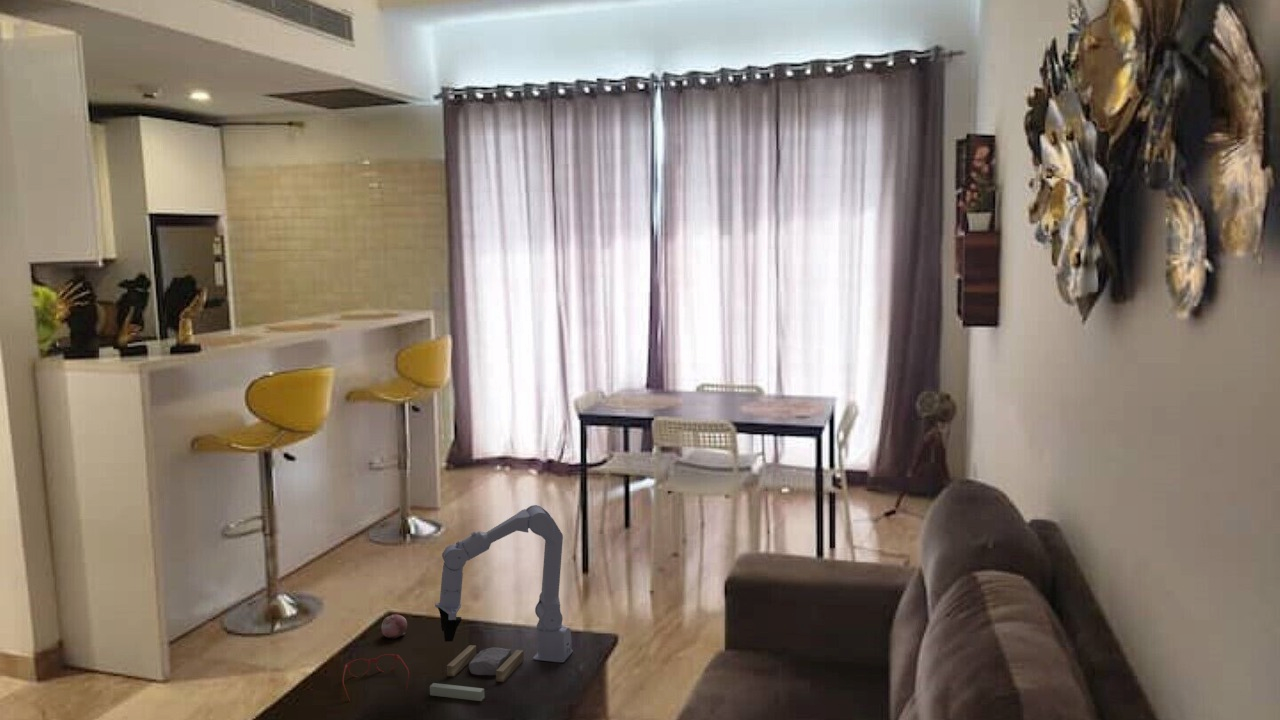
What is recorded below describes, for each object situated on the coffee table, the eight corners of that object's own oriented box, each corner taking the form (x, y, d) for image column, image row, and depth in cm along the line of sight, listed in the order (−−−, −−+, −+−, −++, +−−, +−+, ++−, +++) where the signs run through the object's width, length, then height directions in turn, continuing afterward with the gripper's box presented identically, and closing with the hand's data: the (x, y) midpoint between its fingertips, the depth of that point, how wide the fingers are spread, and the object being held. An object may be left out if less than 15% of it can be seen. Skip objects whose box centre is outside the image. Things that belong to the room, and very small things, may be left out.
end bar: (484, 697, 245) (484, 688, 245) (481, 701, 243) (480, 692, 243) (433, 691, 249) (433, 682, 249) (430, 695, 247) (429, 686, 247)
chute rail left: (476, 655, 271) (476, 645, 271) (453, 676, 258) (453, 666, 258) (470, 654, 272) (469, 645, 272) (447, 675, 259) (446, 665, 258)
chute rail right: (523, 660, 267) (523, 650, 267) (503, 681, 254) (502, 671, 253) (517, 659, 268) (516, 649, 267) (496, 681, 254) (496, 670, 254)
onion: (381, 644, 284) (373, 622, 284) (391, 636, 292) (384, 614, 292) (404, 636, 283) (396, 614, 283) (414, 629, 290) (407, 607, 291)
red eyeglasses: (404, 667, 266) (403, 650, 265) (411, 691, 251) (410, 673, 250) (341, 678, 260) (339, 661, 259) (344, 704, 245) (343, 686, 244)
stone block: (467, 680, 260) (500, 676, 257) (463, 664, 259) (496, 659, 257) (483, 664, 271) (515, 659, 269) (479, 648, 271) (511, 643, 269)
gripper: (434, 580, 265) (430, 626, 266) (439, 597, 251) (435, 646, 252) (459, 580, 267) (455, 625, 268) (465, 597, 253) (461, 645, 254)
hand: (447, 635), depth 260 cm, fingers open, 7 cm apart
